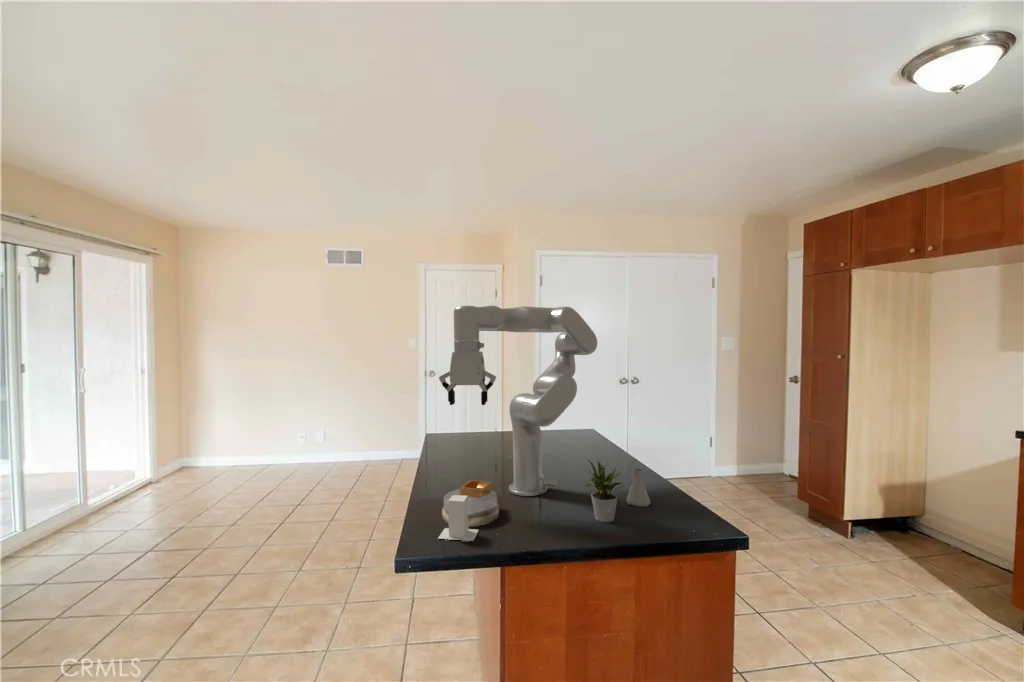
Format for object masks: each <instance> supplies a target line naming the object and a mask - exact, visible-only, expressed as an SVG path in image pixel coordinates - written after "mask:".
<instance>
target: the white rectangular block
mask: <svg viewBox="0 0 1024 682" xmlns="http://www.w3.org/2000/svg"><path fill="white" fill-rule="evenodd" d="M448 511H449V524H448V528H449V537H464V538H465V536H466V534H467V532H468V529H469V527H468V496H463V495H452V497H451V498H450V499H449V501H448Z"/></svg>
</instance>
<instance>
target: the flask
mask: <svg viewBox="0 0 1024 682" xmlns="http://www.w3.org/2000/svg"><path fill="white" fill-rule="evenodd" d="M644 471H645V470H644V469H643V468H641V467H640V468H639V467H635V468H632V472H633V475H632V476H633V477H632V483H631V484H630V489H629V490H628V493H627V496H626V499H625V501H626V503H627V504H628V505H631V506H635V507H648V506H650V505H651V504H652V502H651V499H650V496H649V494H648V491H647V489H646V485H645V482H644V477H643V476H644V475H643V473H644Z"/></svg>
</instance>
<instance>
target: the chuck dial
mask: <svg viewBox="0 0 1024 682" xmlns="http://www.w3.org/2000/svg"><path fill="white" fill-rule="evenodd" d="M492 489H493V482H492V481H485V480H474V479H469V480H468V481H467V482H465V483H464V484H462V485H461V486H460V487H459V488H457V489H454V490H452V491H449V492H447V493H446V494H444V496H443V507H444V511H445V512H446V513H447V514H449V511H448V501H449V499H450V498H451V497H452V495H463V496H468V518H471V517H479V516H484V515H487V514H489V513H492V512H493V511H495V510H496V508H497V504H498V495H497V493H496V491H494V490H492Z"/></svg>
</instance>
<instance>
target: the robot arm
mask: <svg viewBox="0 0 1024 682" xmlns="http://www.w3.org/2000/svg"><path fill="white" fill-rule="evenodd" d="M480 332H510V333H546V334H547V333H559V334H558V335H557V336H556V338H555V341H554V350H555V357H554V359H553V361H552V363H551V364H550V365H549V366H548V367H547V368H546V369H545V370H544V371H543V372H542V373H541V374H540V375H539V376H538V377H537V379H535V381H534V382H533V384H532V393H529V392H527V393H526V392H525V393H524V392H523V393H519V394H517V395H515V396H514V397H513V398H512V399H511V400H510V403H509V417H510V421H511V422H510V423H511V429H512V458H513V459H512V460H513V463H512V465H513V466H512V467H513V470H512V471H513V472H512V473H513V482H512V483H511V484H510V485H509V486H508V491H509V492H510V493H511V494H513V495H516V496H521V497H534V496H539V495H543V494H545V493H546V492H547V491H548V486H549V487H557V480H556V479H553V478H552V477H551V478H546V477H545V473H543V436H542V435H543V434H542V430H541V428H540V427H543V428H544V427H549V426H550V425H552V424H554V423H555V421H557V419H559V418H560V416H561V415H562V414H563V413H564V412H565V410H566V409H567V408H569V406H570V405H571V404H572V402H573V401H574V400H575V398H576V395H577V391H578V385H577V381H576V380H575V379H574V378H573V377H574V375H575V374H576V362H575V360H576V359H575V356H588V355H591V354H593V353H594V352H596V349H597V348H598V338H597V336H596V333H595V332H594V330H593V329H592V328H591V327H590V326H589V324H588V323H587V322H586V320H584V318H583V317H582V316H581V315H580V314H579V312H577V310H575V309H574V308H572V307H570V306H560V307H559V306H558V307H543V306H542V307H539V306H538V307H537V306H516V307H510V308H509V307H508V308H506V307H505V308H501V307H499V306H496V305H488V306H487V305H486V306H474V305H460V306H456V307H454V309H453V343H454V344H453V347H454V348H453V349H454V350H453V352H452V353H451V358H450V365H449V366H450V367H449V370H448V372H446V373H444V374H442V375H440V376H439V377H438V380H439V382H440V383H441V386H442V387H443V388H444V389H445V391H446V392H448V393H447V399H448V403H449V405H450V406H452V405H455V404H456V397H455V396H456V395H455V394H456V392H455V391H456V390H454V388H456V386H478V387H479V388H480V389H481V390H482V391H481V394H480V396H481V397H480V401H481V405H482V406H485V405H486V404H487V403H488V399H489V398H488V391H489V389H491V387H492V386H494V384H495V381H496V379H497V376H496V375H495V374H492V373H491V372H488V371H486V368H485V358H484V355H483V354H484V353H483V351H480V350H481V349H482V348H483V349H484V348H485V343H484V342H481V341H480ZM447 378H449V383H450V384H449V383H448V382H447V380H446V379H447ZM486 378H488V379H489V381H488V383H487V384H486V383H485V382H486ZM533 393H534V394H533Z"/></svg>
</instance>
